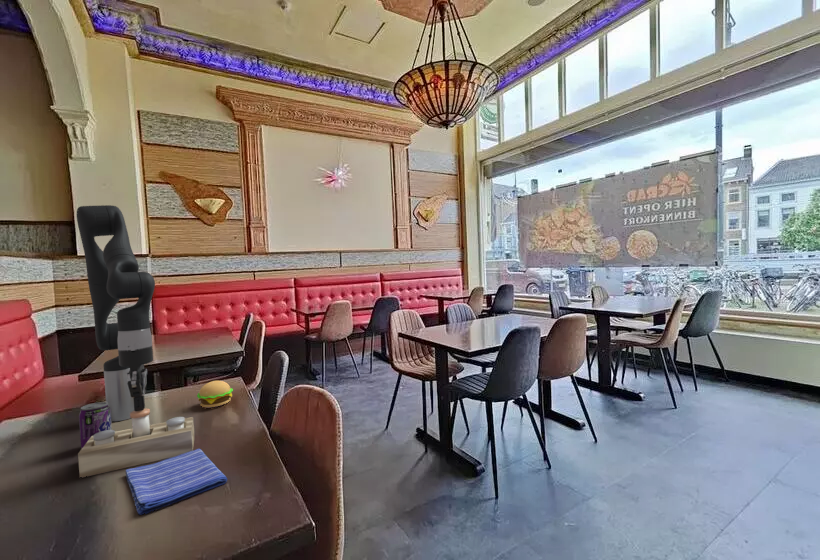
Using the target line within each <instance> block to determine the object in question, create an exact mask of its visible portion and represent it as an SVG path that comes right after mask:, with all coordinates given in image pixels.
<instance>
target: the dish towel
mask: <svg viewBox="0 0 820 560" xmlns="http://www.w3.org/2000/svg"><path fill="white" fill-rule="evenodd" d="M125 476H126V477H125V478H126V480H127V484H128V487H129V489H130V492H131V495H132V498H133V497H134V498H133V502H134V501H135V502H134V506H136V507H135V508H136V512H137V514H138V515H141V516H143V515H147V514H149V513H152V512H155V511H157V510H159V509H162V507H163V508H165V507H167V506H171V505H173V504H176V503H179V502H180V501H183V500H186V499H190V498H191V497H193V496H196V495H199V494H202V493H205V492H207V491H210V490H212V489H214V488H217V487H220V486H224V485H225V484H226V483H227V482H228V478H227V476H226V475H225V474H224V473H223V471H221V470H220V469H219V468H218V467H217V466H216V464H215V463H213V461H212V460H211V459H210V457H208V456H207V454H205V452H204V451H203V450H202V449H201V448H196V449H193V451H190V452H187V453H184V454H181V455H179V456H175V457H171V458H167V459H162V460H159V461H158V462H157V461H156V462H155V463H154V462H153V463H152V464H147V465H141V466H136V467H134V468H132V467H131V468H128V469H125ZM156 509H157V510H156ZM154 510H155V511H154ZM151 511H152V512H151ZM144 513H145V514H144Z"/></svg>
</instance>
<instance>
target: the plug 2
mask: <svg viewBox="0 0 820 560" xmlns="http://www.w3.org/2000/svg"><path fill="white" fill-rule="evenodd" d="M185 418H186V417H184V416H176V417H173V418H170V419H167V420H166V421H165V422H166V426H168V431H171V430H176V429H181V428H184V422H185Z"/></svg>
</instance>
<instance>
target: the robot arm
mask: <svg viewBox="0 0 820 560" xmlns="http://www.w3.org/2000/svg"><path fill="white" fill-rule="evenodd" d="M76 221H77V226H78V231H79V235H80V239H81V240H80V241H81V245H82V248H83V251H84V252H83V253H84V258H85V266H86V274H87V282H88V283H87V284H88V289H89V293H90V298H91V304H92V309H93V318H94V330H95V331H94V332H95V334H94V335H95V342H96V345H97V348H98V349H99V350H100V351H114V350H117V352H118V355H117V356H116V357H114V358H113V357H112V358H111V359H108V360H106V361H105V362H104V363H103V367H102V368H103V379H104V380H103V381H104V392H105V402H108V406H109V407H110V412H111V422H119V421H125V420H129V419H131V418H130V413H131V412H133V411H142V410H144V409H146V403H145V402H146V401H145V394H146V390H147V383H148V382H147V375H148V369H147V368H145V365H147V364H149V363H152V362H153V361H154V352H153V339H152V338H153V337H152V332H151V328H150V327H151V325H150V323H151V322H150V310H151V309H150V308H151V303H152V298H153V295H154V292H155V288H156V281H155V278H154V276H153V275H152V274H151V273H150V272H148V271H147V272H146V271H139V268H140V267H139V263H138V261H137V258H136V256H135V254H134V251H133V249H132V247H131V243H130V237H129V233H128V229H127V225H126V222H125V221H126V220H125V217H124V215H123V212H122V211H121V209H120V208H119V207H118V206H116V205H110V204H109V205H104V204H102V205H81V206H78V207H77V209H76ZM104 236H112V237H111V238H110V239H109V240H108V242H107V243H106V245H105V246H104V248H103V250H102V248H101V247H100V246H99V245H98V244H97V243H98V242H96V239H95V238H96V237H104ZM129 299H138V300H137V301H136V303H135V304H134V305H131V306H127V307H124V308H121V309H119V310H118V311H117V313H116V320H117V322H109V323H108V322H107V321H108V319H109V316H110V314H111V312H112V311H113V310H114V308H115V306H116V305H117V304H118V303H119V301H120V300H129Z"/></svg>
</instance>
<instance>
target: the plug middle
mask: <svg viewBox="0 0 820 560" xmlns="http://www.w3.org/2000/svg"><path fill="white" fill-rule="evenodd" d="M150 414H151V409H150V408H144V410H142V411H133V412H131V413H130V419H131V425H132V427H131V429H132V430H133V438H136V437H141V436H146V435H150V425H151V424H150Z"/></svg>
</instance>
